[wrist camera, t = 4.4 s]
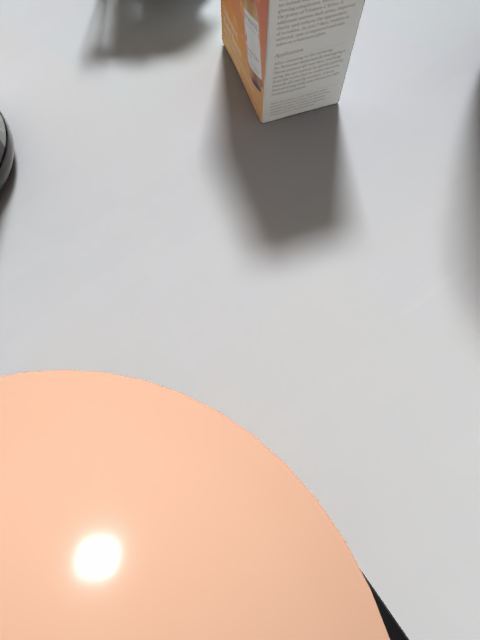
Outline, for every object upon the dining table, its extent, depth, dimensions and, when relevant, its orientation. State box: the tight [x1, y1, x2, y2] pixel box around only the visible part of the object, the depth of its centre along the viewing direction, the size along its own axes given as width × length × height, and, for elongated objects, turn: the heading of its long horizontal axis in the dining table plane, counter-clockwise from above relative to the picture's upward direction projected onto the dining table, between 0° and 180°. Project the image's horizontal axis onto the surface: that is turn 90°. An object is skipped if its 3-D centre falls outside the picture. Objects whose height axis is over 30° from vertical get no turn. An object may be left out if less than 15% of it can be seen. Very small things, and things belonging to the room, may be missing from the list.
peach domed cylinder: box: [0, 370, 390, 640], centre depth 9 cm, size 7×7×12 cm
